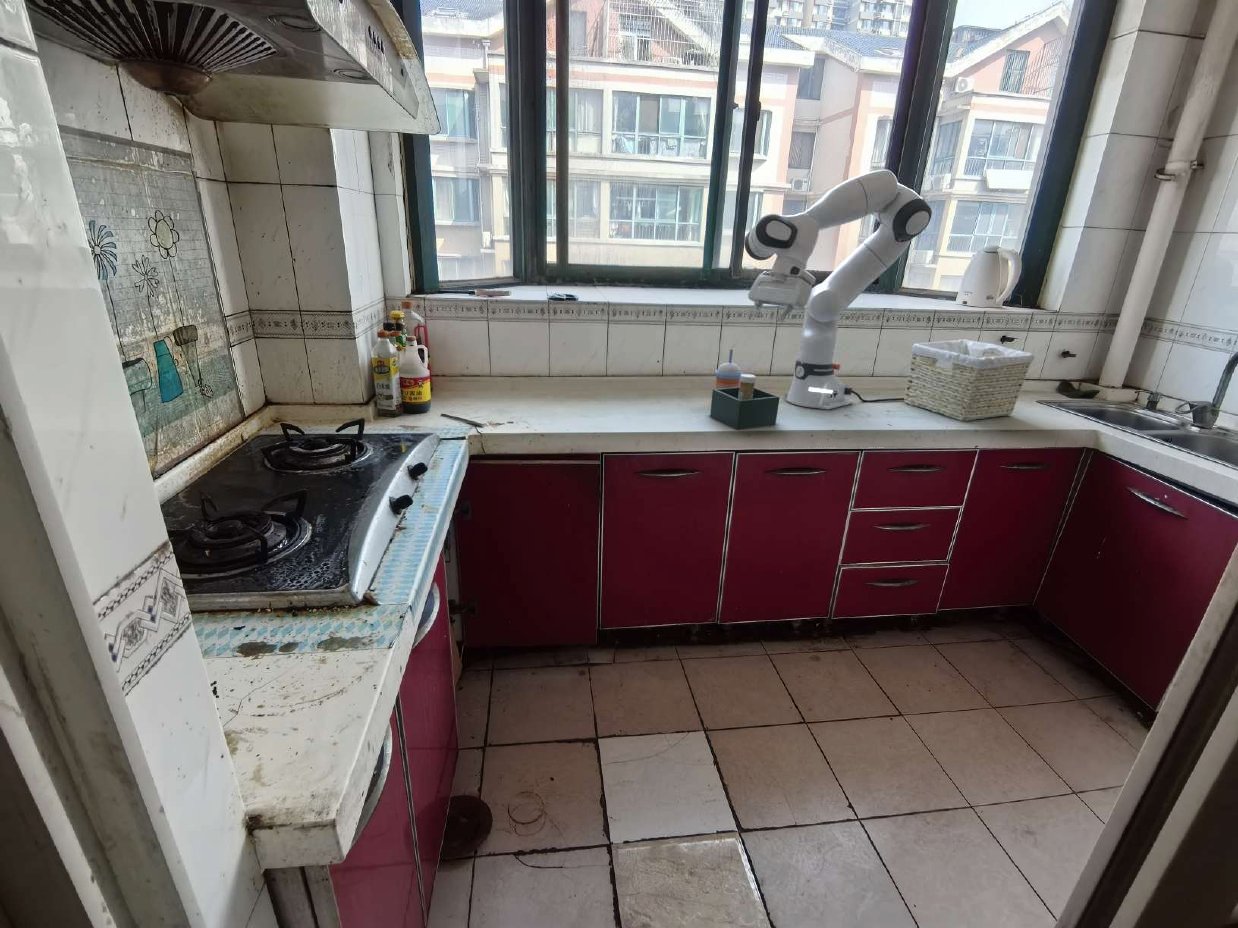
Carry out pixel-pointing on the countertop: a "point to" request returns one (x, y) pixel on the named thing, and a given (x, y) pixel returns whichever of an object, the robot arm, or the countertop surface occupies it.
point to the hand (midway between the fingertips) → (767, 319)
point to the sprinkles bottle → (746, 386)
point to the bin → (744, 408)
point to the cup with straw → (728, 374)
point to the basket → (966, 378)
